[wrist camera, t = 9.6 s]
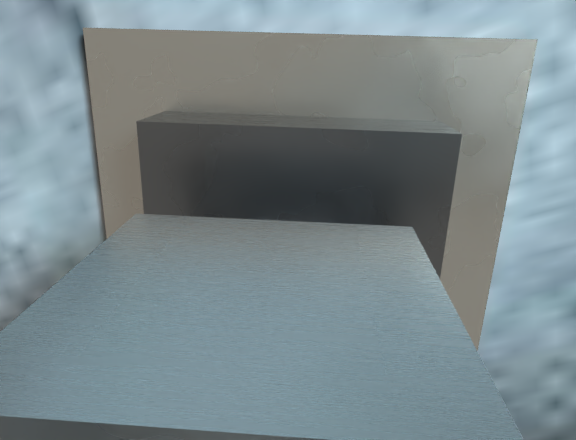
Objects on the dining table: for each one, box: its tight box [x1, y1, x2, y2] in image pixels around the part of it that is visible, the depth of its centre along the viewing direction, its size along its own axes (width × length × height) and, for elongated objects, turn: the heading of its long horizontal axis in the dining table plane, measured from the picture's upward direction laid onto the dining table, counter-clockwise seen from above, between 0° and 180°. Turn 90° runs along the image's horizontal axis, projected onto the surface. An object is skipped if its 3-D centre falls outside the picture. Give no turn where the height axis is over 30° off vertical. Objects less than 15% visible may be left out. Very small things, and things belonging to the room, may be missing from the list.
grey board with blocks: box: [83, 28, 537, 350], centre depth 15 cm, size 14×22×7 cm, turn 178°
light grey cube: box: [0, 214, 523, 440], centre depth 8 cm, size 6×6×6 cm
